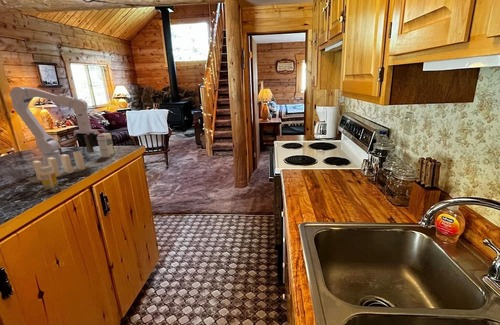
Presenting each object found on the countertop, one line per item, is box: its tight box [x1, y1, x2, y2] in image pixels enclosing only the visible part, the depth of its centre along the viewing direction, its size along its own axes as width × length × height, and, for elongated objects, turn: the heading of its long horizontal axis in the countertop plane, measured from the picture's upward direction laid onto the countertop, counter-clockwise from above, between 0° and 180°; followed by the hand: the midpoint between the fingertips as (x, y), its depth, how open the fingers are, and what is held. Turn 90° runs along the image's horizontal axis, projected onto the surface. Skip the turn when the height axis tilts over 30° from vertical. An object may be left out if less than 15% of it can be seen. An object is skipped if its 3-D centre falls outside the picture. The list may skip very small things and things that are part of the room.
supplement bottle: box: [40, 165, 59, 190], centre depth 118 cm, size 5×5×10 cm
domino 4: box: [72, 151, 86, 171], centre depth 141 cm, size 2×5×9 cm, turn 57°
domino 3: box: [60, 153, 74, 174], centre depth 137 cm, size 2×5×9 cm, turn 57°
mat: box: [25, 160, 105, 184], centre depth 140 cm, size 12×33×1 cm, turn 147°
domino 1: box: [31, 159, 44, 180], centre depth 127 cm, size 2×5×9 cm, turn 57°
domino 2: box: [47, 157, 62, 178], centre depth 132 cm, size 2×5×9 cm, turn 57°
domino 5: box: [84, 136, 95, 154], centre depth 147 cm, size 2×5×9 cm, turn 46°
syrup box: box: [96, 132, 116, 158], centre depth 165 cm, size 6×6×14 cm
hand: (89, 146), depth 148 cm, fingers closed on domino 5, 5 cm apart
